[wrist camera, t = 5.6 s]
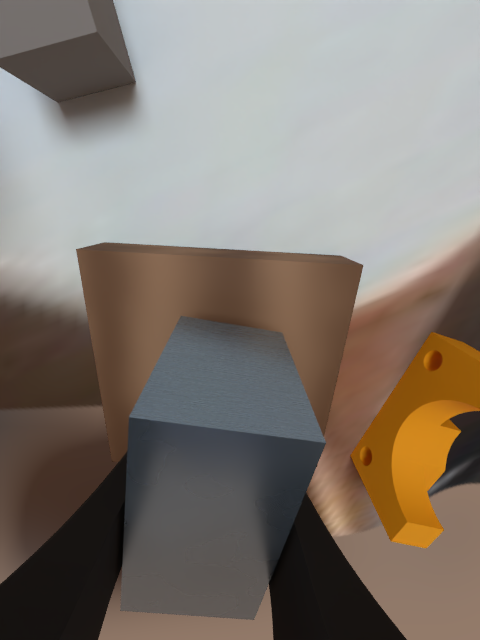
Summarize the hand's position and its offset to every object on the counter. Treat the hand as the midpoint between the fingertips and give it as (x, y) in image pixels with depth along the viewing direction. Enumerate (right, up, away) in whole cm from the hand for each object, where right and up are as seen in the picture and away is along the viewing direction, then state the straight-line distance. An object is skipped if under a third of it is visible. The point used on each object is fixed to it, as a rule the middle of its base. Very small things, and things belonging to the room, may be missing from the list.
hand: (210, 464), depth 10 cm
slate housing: (0, +2, +3) cm, 3 cm away
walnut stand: (0, +3, +8) cm, 9 cm away
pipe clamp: (+14, -1, +11) cm, 18 cm away
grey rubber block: (-6, +18, +2) cm, 20 cm away
